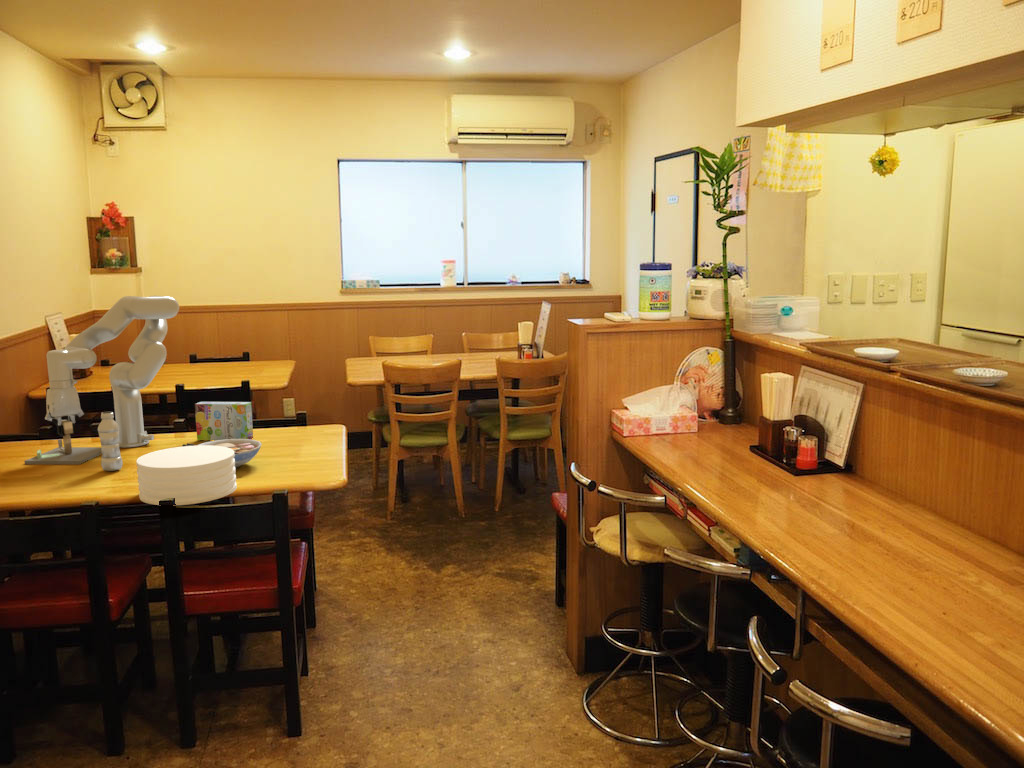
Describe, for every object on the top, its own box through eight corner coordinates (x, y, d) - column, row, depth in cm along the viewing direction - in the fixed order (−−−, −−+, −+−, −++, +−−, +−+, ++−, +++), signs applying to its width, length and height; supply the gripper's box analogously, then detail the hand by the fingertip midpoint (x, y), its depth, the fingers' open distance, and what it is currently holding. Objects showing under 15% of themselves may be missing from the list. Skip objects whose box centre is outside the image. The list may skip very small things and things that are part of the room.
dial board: (110, 450, 313) (109, 442, 312) (80, 464, 293) (79, 455, 293) (58, 450, 314) (57, 442, 314) (24, 464, 294) (23, 455, 294)
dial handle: (75, 453, 302) (72, 421, 300) (67, 455, 301) (64, 423, 299) (64, 449, 310) (60, 417, 308) (56, 450, 308) (53, 419, 306)
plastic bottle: (115, 473, 281) (109, 414, 277) (97, 472, 282) (91, 414, 279) (127, 468, 287) (122, 411, 284) (110, 467, 288) (104, 410, 285)
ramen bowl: (279, 464, 291) (278, 440, 289) (226, 480, 271) (225, 455, 270) (229, 455, 303) (227, 433, 302) (175, 470, 284) (173, 446, 282)
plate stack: (136, 487, 265) (133, 451, 263) (228, 475, 278) (226, 441, 276) (143, 511, 240) (139, 472, 238) (244, 497, 253) (241, 460, 251)
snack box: (254, 439, 329) (251, 401, 326) (247, 442, 323) (245, 404, 321) (203, 438, 332) (200, 400, 329) (196, 441, 326) (193, 403, 324)
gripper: (81, 380, 308) (86, 429, 311) (33, 386, 296) (38, 437, 299) (89, 382, 303) (94, 432, 306) (40, 388, 291) (45, 440, 294)
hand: (66, 434), depth 302 cm, fingers closed on dial handle, 2 cm apart
